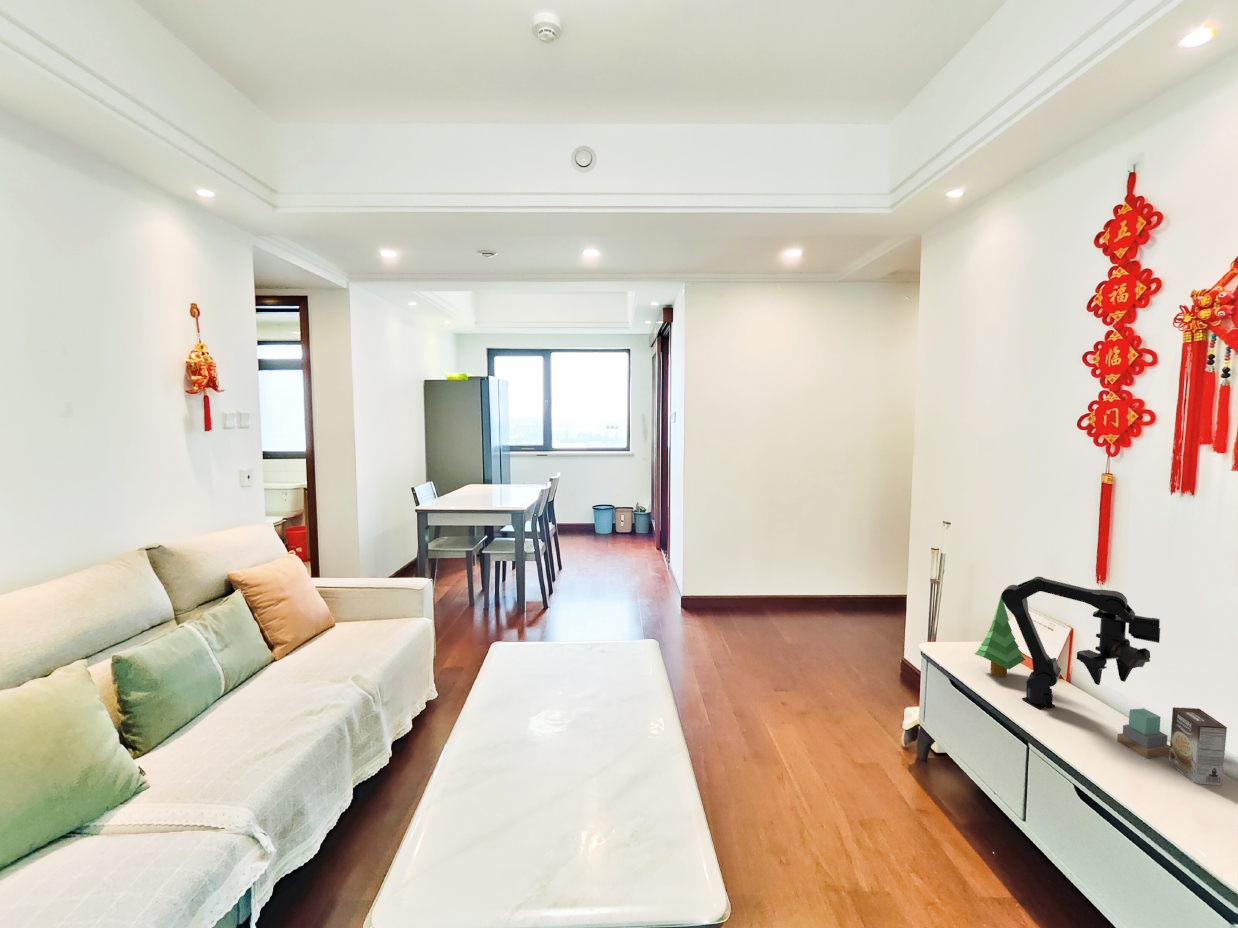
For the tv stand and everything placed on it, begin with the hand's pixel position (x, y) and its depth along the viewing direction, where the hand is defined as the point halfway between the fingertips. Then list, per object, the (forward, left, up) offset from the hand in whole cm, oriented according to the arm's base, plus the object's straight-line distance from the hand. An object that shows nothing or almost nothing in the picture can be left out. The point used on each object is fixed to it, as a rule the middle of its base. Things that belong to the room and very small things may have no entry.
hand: (1110, 682), depth 168 cm
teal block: (+12, -3, -8) cm, 15 cm away
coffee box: (+24, -2, -13) cm, 28 cm away
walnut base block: (+12, -3, -14) cm, 19 cm away
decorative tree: (-34, -6, -13) cm, 37 cm away
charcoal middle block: (+12, -3, -11) cm, 17 cm away
